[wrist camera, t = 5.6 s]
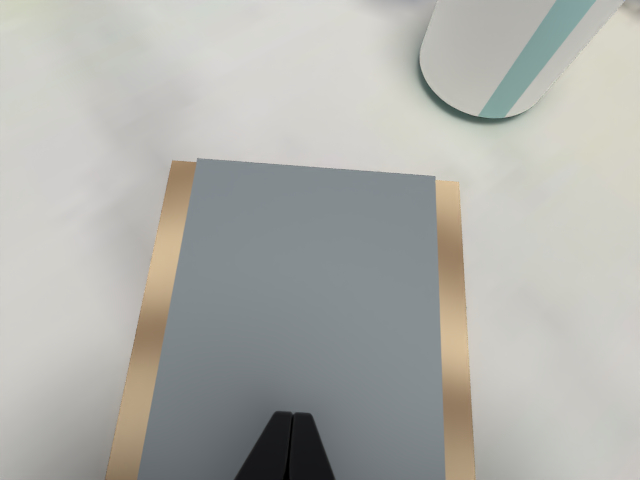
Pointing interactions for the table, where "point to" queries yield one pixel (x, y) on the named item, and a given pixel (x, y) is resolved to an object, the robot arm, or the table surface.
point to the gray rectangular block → (302, 323)
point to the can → (505, 50)
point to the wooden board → (158, 302)
